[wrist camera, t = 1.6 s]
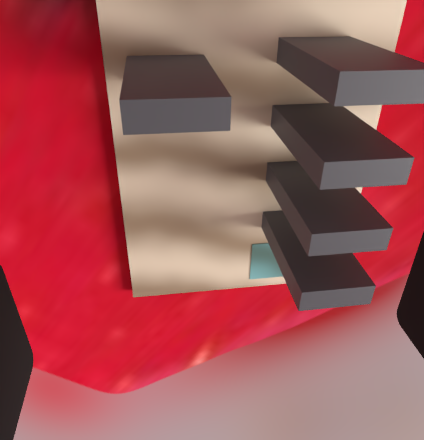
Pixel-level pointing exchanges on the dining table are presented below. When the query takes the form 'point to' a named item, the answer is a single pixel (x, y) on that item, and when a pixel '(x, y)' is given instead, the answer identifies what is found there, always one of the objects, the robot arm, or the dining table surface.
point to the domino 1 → (172, 96)
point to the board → (218, 132)
